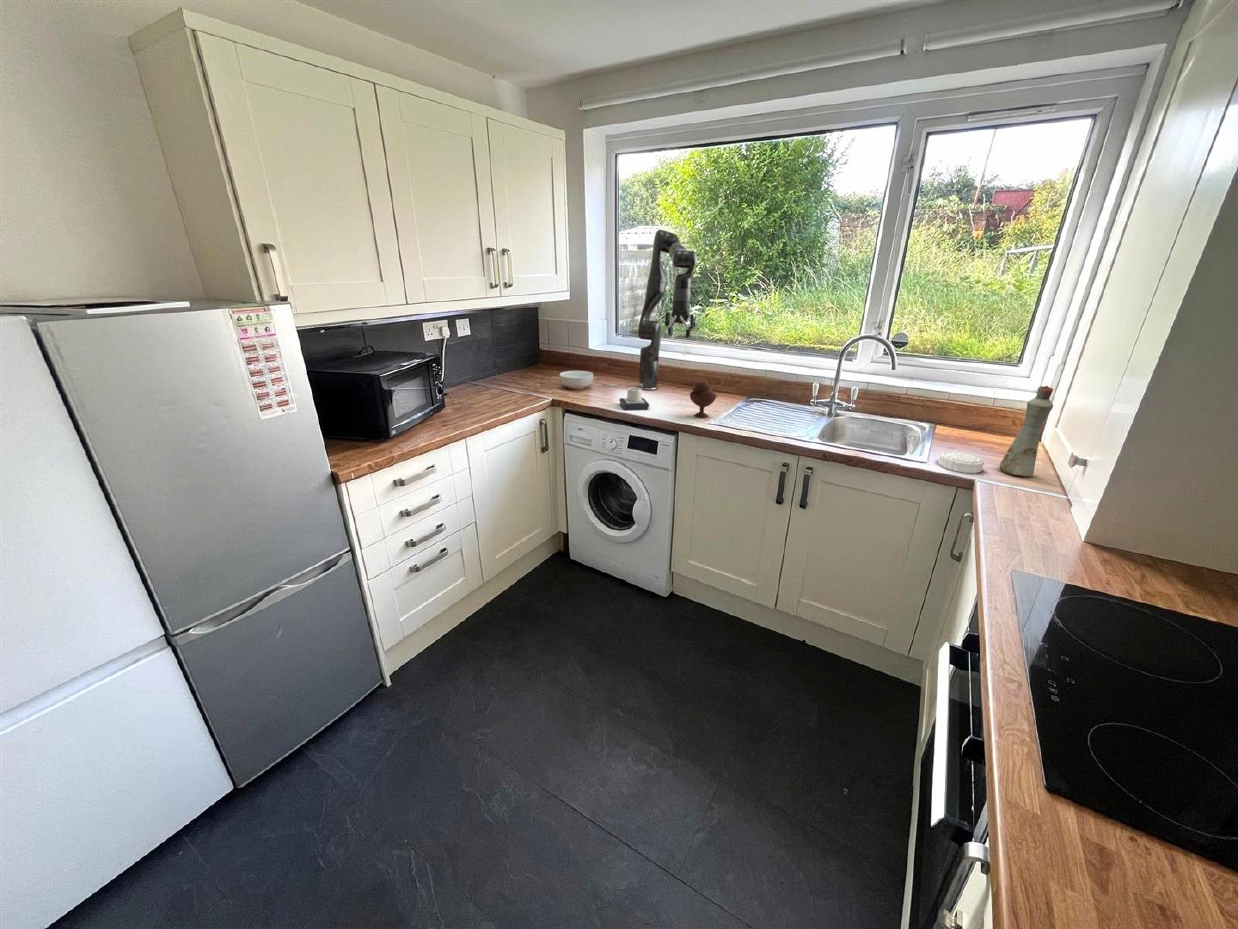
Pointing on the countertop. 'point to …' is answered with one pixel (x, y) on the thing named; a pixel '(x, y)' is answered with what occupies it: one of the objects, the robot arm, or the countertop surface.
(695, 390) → the ice cream bowl
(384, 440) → the countertop surface
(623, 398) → the scale pan
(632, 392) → the white short cylinder
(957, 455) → the mooncake
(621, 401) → the scale
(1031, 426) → the bottle
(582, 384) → the cereal bowl
